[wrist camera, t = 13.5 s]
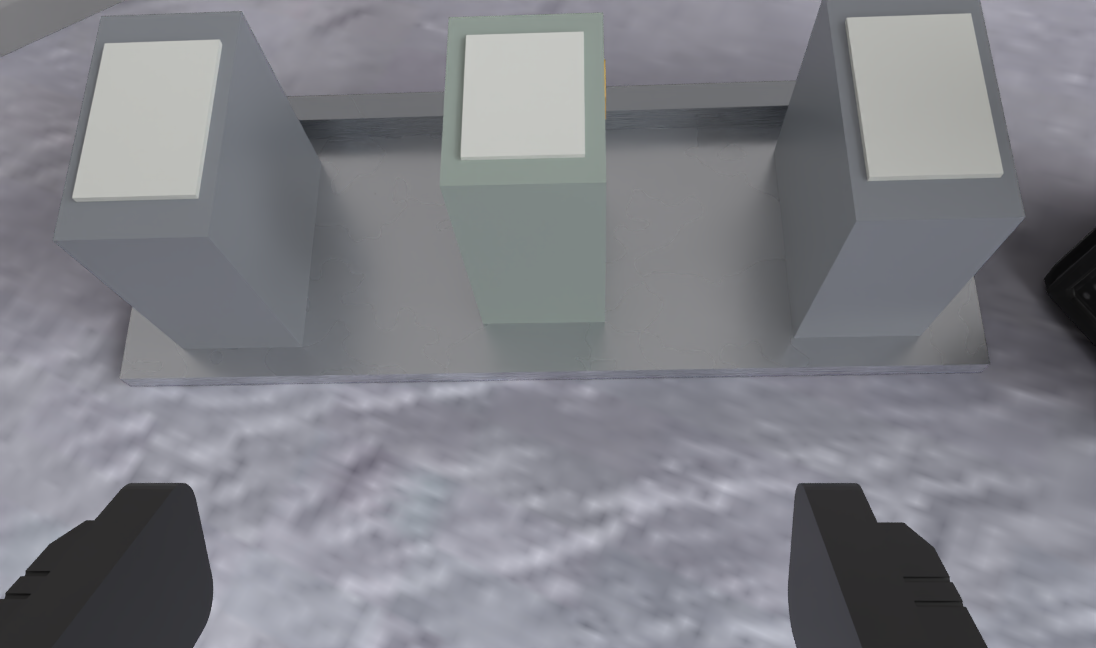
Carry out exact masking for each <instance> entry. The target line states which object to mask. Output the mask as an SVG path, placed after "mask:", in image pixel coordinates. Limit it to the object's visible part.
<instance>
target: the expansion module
mask: <svg viewBox="0 0 1096 648" xmlns="http://www.w3.org/2000/svg"><path fill="white" fill-rule="evenodd" d="M605 119H606V70H605V59H604V37H603V13H573V14H541V15H509V16H476V17H449V22H448V40H447V58H446V77H445V95H444V113H443V131H442V150H441V168H440V189H441V192H442V196H443V199H444V202H445V205H446V208H447V211H448V214H449V218H450V221H451V224H452V227H453V230H454V233H455V236H456V240H457V243H458V246H459V249H460V252H461V255H462V258H463V262H464V265H465V268H466V271H467V274H468V277H469V281H470V284H471V287H472V290H473V293H474V296H475V299H476V303H477V306H478V309H479V312H480V315H481V318H482V321H483V324H501V323H571V322H605V272H606V139H605Z"/></svg>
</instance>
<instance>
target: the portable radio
mask: <svg viewBox="0 0 1096 648" xmlns="http://www.w3.org/2000/svg"><path fill="white" fill-rule="evenodd" d="M1044 280H1045V284H1046V287H1047V290H1046V291H1047V293H1048V295H1049V296H1050V297H1051V298H1052V299H1053V300H1054V301H1055V302H1056V304H1057V305H1058V306H1059V307H1060V308H1061V309H1062V310H1063V311H1064V312H1065V313H1066V314H1067V316H1068V317H1069V318H1070V319H1071V320H1072V321H1073V322H1074V323H1075V324H1076V325H1077V327H1078V328H1079V329H1080V330H1081V331H1082V332H1083V333H1084V334H1085V335H1086V336H1087V337H1088V339H1089V340H1090V341H1091V342H1092V343H1093V344H1094V345H1095V346H1096V228H1095V229H1093V230H1092V231H1091V232H1090V233H1089V234H1088V235H1087V236H1086V237H1085V238H1084V239H1083V240H1081V241H1080V242H1079V243H1078V244H1077V245H1076V246H1075V247H1074V248H1073V249H1072V250H1071V251H1069V252H1068V253H1067V254H1066V255H1065V256H1064V257H1063V258H1062V259H1061V260H1060V261H1058V262H1057V263H1056V264H1055V266H1054V267H1053V268H1052V269H1051V271H1050V272H1049V273H1048V274H1047V276H1046V277H1045V278H1044Z"/></svg>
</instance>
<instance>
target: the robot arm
mask: <svg viewBox="0 0 1096 648" xmlns="http://www.w3.org/2000/svg"><path fill="white" fill-rule="evenodd" d="M5 594H6V596H5V599H0V648H193V647H194V645H195V643H196V642H197V640H198V638H199V636H200V635H201V633H202V631H203V629H204V628H205V626H206V623H207V621H208V618H209V615H210V611H211V606H212V600H213V579H212V573H211V569H210V564H209V559H208V554H207V550H206V545H205V540H204V535H203V531H202V526H201V521H200V516H199V512H198V507H197V502H196V498H195V495H194V492H193V490H192V489H191V487H190V486H189V485H187V484H186V483H130V484H127V485H126V486H124V487H123V488H122V489H121V490H120V491H119V493H118V494H117V495H116V496H115V497H114V498H113V500H112V501H111V502H110V503H109V504H108V505H107V506H106V508H105V509H104V510H103V511H102V512H101V513H100V515H99V516H98V517H97V518H96V519H95V520H86V521H85V522H83V523H81V524H80V525H78V526H77V527H75V528H74V529H72V530H71V531H69V532H68V533H66V534H64V535H63V536H61V537H60V538H58V539H57V540H55V541H54V542H52V543H51V544H49V545H48V547H47V548H46V549H45V550H44V551H43V552H42V553H41V554H40V555H39V557H38V558H37V559H36V560H35V561H34V562H33V563H32V564H31V565H30V567H29V568H28V569H27V570H26V574H25V576H21V577H20V578H19V579H18V580H17V581H16V582H15V583H14V584H13V585H12V587H11V588H10V589H9V590H8V591H7V592H6V593H5ZM962 602H963V601H962V599H961V597H960V595H959V593H958V591H957V590H956V588H955V586H954V584H953V582H950V579H949V575H948V573H947V571H946V569H945V567H944V565H943V564H942V562H941V560H940V558H939V556H938V554H937V552H936V551H935V549H934V547H933V546H931V545H930V544H929V543H928V542H926V541H925V540H924V539H923V538H922V537H920V536H919V535H918V534H917V533H916V532H914V531H913V530H912V529H911V528H909V527H908V526H907V525H906V524H905V523H877V521H876V518H875V516H874V514H873V512H872V510H871V508H870V505H869V503H868V501H867V499H866V497H865V495H864V493H863V490H862V489H861V487H860V485H859V484H857V483H800V484H798V486H797V488H796V493H795V500H794V513H793V526H792V539H791V552H790V565H789V579H788V603H789V614H790V622H791V628H792V632H793V636H794V640H795V644H796V647H797V648H988V647H987V645H986V643H985V642H984V640H983V638H982V636H981V634H980V632H979V630H978V629H977V627H976V625H975V623H974V621H973V619H972V617H971V616H970V614H969V612H968V610H967V608H966V607H963V603H962Z"/></svg>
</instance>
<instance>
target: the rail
mask: <svg viewBox="0 0 1096 648" xmlns="http://www.w3.org/2000/svg"><path fill="white" fill-rule="evenodd" d="M795 84H796V81H764V82H733V83H701V84H669V85H638V86H606V119H605V139H606V272H605V322H571V323H501V324H483V321H482V318H481V315H480V312H479V309H478V306H477V303H476V299H475V296H474V293H473V290H472V287H471V284H470V281H469V277H468V274H467V271H466V268H465V265H464V262H463V258H462V255H461V252H460V249H459V246H458V243H457V240H456V236H455V233H454V230H453V227H452V224H451V221H450V218H449V214H448V211H447V208H446V205H445V202H444V199H443V196H442V192H441V189H440V168H441V150H442V131H443V113H444V95H445V92H416V93H385V94H353V95H321V96H290V97H287V99H288V101H289V102H290V104H291V106H292V108H293V110H294V112H295V114H296V116H297V118H298V120H299V121H300V123H301V125H302V127H303V129H304V131H305V133H306V135H307V137H308V139H309V141H310V142H311V144H312V146H313V148H314V150H315V152H316V154H317V156H318V158H319V160H320V161H321V169H320V179H319V189H318V199H317V208H316V218H315V228H314V238H313V247H312V257H311V267H310V277H309V287H308V296H307V306H306V316H305V326H304V335H303V345H302V347H275V348H221V349H183V348H181V347H180V346H179V345H178V344H176V343H175V342H174V341H173V340H172V339H170V338H169V337H168V336H167V335H166V334H164V333H163V332H162V331H161V330H160V329H158V328H157V327H156V326H155V325H154V324H152V323H151V322H150V321H149V320H148V319H146V318H145V317H144V316H143V315H142V314H140V313H139V312H138V311H137V310H136V309H134V308H133V307H132V310H131V316H130V321H129V327H128V333H127V338H126V344H125V350H124V355H123V361H122V367H121V372H120V378H119V379H120V380H122V381H123V382H125V383H126V384H128V385H129V386H181V385H242V384H303V383H364V382H425V381H486V380H547V379H608V378H669V377H730V376H791V375H852V374H913V373H974V372H982V371H983V370H984V369H985V368H986V367H987V366H989V365H990V361H989V356H988V350H987V345H986V339H985V334H984V328H983V323H982V317H981V312H980V306H979V301H978V295H977V290H976V284H975V279H974V276H973V277H972V278H971V279H970V280H969V282H968V283H967V284H966V285H965V286H964V287H963V288H962V289H961V291H960V292H959V293H958V294H957V295H956V296H955V297H954V298H953V300H952V301H951V302H950V303H949V304H948V305H947V306H946V308H945V309H944V310H943V311H942V312H941V313H940V314H939V315H938V317H937V318H936V319H935V320H934V321H933V322H932V323H931V324H930V326H929V327H928V328H927V329H926V330H925V331H924V332H923V333H922V335H921V336H875V337H821V338H794V336H793V326H792V316H791V307H790V297H789V287H788V277H787V268H786V258H785V248H784V238H783V229H782V219H781V209H780V199H779V190H778V180H777V170H776V160H775V151H774V150H775V147H776V144H777V140H778V137H779V134H780V131H781V128H782V125H783V121H784V118H785V115H786V112H787V109H788V106H789V102H790V99H791V96H792V93H793V90H794V87H795Z"/></svg>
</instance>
